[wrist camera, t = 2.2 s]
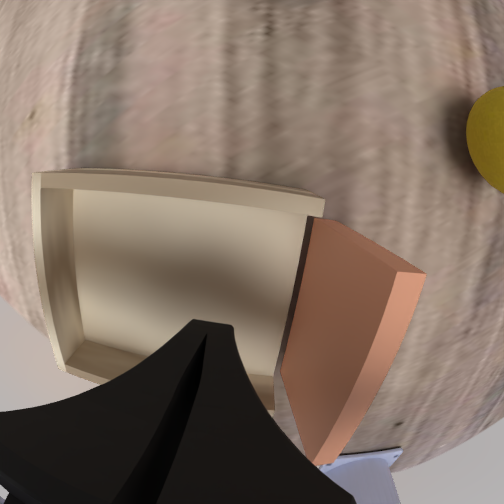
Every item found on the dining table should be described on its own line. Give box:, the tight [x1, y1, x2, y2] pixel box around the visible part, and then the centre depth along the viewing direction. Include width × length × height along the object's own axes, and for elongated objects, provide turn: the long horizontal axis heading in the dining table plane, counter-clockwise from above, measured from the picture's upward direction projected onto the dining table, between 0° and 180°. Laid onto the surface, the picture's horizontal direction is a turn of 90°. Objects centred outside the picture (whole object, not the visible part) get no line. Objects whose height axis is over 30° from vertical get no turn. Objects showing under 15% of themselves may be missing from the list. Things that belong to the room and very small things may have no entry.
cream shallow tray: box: [31, 168, 325, 418], centre depth 12 cm, size 10×11×4 cm
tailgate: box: [280, 218, 427, 466], centre depth 10 cm, size 1×8×6 cm, turn 172°
